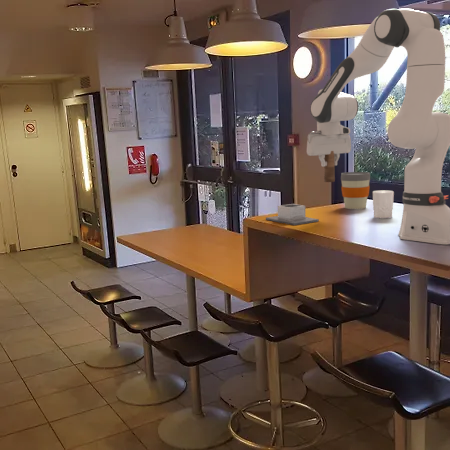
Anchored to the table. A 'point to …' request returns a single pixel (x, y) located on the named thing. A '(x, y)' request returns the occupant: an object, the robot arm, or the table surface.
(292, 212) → the cup bracket
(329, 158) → the walnut rail post
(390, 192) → the white cup
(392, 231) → the table surface
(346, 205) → the reusable coffee cup
